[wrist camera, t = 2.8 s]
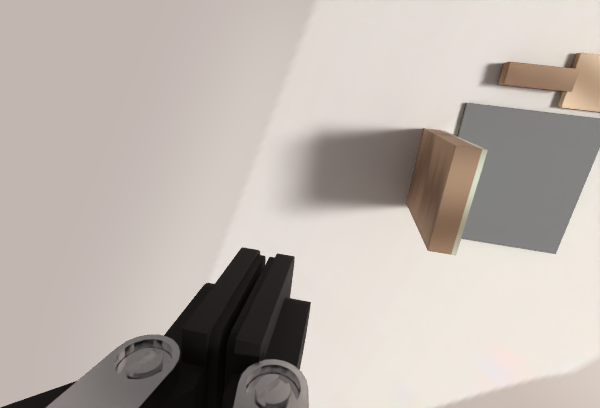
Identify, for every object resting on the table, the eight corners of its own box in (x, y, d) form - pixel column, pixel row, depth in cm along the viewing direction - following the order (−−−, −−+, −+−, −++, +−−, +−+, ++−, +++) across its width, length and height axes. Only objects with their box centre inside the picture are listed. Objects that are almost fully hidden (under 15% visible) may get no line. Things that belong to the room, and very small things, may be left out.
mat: (466, 102, 28) (467, 102, 28) (608, 119, 27) (611, 119, 27) (431, 232, 32) (432, 233, 32) (553, 252, 31) (555, 253, 31)
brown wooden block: (423, 128, 29) (456, 145, 20) (445, 131, 29) (487, 150, 20) (406, 203, 32) (427, 250, 22) (425, 206, 31) (455, 255, 22)
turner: (508, 46, 26) (515, 44, 25) (660, 62, 25) (674, 60, 24) (493, 99, 28) (499, 99, 27) (636, 116, 27) (649, 117, 26)
